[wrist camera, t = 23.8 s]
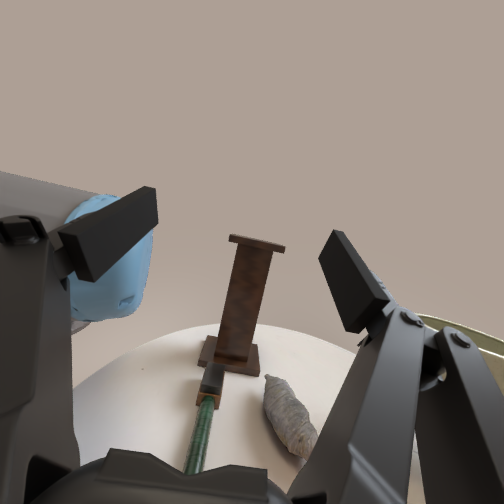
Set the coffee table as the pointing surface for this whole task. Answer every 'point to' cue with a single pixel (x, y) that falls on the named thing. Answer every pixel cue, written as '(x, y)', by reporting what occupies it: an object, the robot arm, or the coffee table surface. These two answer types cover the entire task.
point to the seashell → (289, 417)
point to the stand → (241, 308)
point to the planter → (492, 349)
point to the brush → (204, 417)
